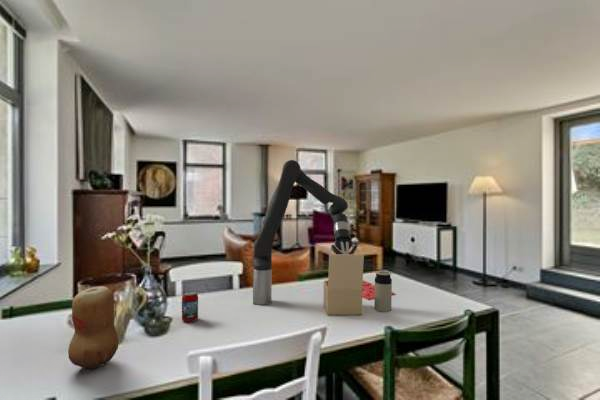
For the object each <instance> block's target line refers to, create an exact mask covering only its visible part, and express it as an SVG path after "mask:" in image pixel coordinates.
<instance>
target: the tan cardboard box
mask: <svg viewBox="0 0 600 400" xmlns="http://www.w3.org/2000/svg"><path fill="white" fill-rule="evenodd" d="M364 257H365V254H363V253H362V254H360V253H357V254H356V253H354V254H336V253H334V254H332V253H331V254H330V253H329V254H328V278H327V279H328V289H362V287H363V286H362V284H363V279H364V260H365V258H364ZM362 290H363V289H362Z"/></svg>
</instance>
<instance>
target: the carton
mask: <svg viewBox="0 0 600 400" xmlns="http://www.w3.org/2000/svg"><path fill="white" fill-rule="evenodd" d="M362 292H363V289H328V281H327V280H323V307H324V309H325V313H326V315H327V317H328V316H329V317H330V316H332V317H334V316H335V317H336V316H337V317H338V316H341V317H342V316H344V317H345V316H348V317H349V316H351V317H352V316H355V317H356V316H357V317H358V316H363V297H362V295H363V294H362Z"/></svg>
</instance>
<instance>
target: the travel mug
mask: <svg viewBox="0 0 600 400" xmlns="http://www.w3.org/2000/svg"><path fill="white" fill-rule="evenodd" d="M391 276H392V272H390V271H387V270H377V271H375V278H374V285H375V299H374V310H376V311H378V312H382V313H387V312H390V311H392V301H393V300H392V296H393V295H392V292H393V291H392V286H393V285H392V282H393V280H392V277H391Z"/></svg>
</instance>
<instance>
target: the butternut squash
mask: <svg viewBox="0 0 600 400" xmlns="http://www.w3.org/2000/svg"><path fill="white" fill-rule="evenodd" d="M114 297H115V296H114V293H113V292H112V291H111V289H109V288H108V287H106V286H101V285H100V286H94V287H89V288H86V289H83V290H82V291H80V292H79V293H77V294H76V295H75V296H74V297H73V299H72V303H71V305H72V306H71V320H72V321H71V322H72V324H73V328H74V333H73V335H72V337H71V339H70V341H69V342H70V343H69V345H68V350H67V353H68V360H69V361H70V362H71V363H72V364H73V365H75V366H77V367H80V368H82V369H87V370H94V369H96V368H97V367H99V366H105V365H106V364H108V363H109V362H110V361H111V360H112V359H113V357H114V356H115V355H116V352H117V351H118V349H119V335H118V333H117V330H116V326H115V302H114Z"/></svg>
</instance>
